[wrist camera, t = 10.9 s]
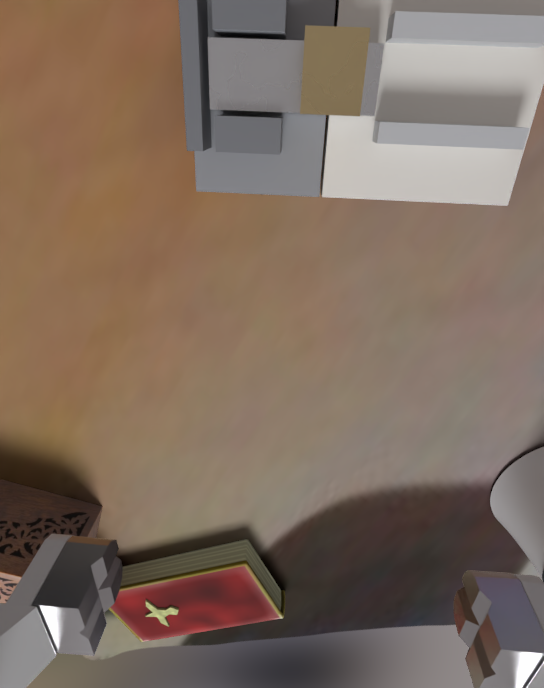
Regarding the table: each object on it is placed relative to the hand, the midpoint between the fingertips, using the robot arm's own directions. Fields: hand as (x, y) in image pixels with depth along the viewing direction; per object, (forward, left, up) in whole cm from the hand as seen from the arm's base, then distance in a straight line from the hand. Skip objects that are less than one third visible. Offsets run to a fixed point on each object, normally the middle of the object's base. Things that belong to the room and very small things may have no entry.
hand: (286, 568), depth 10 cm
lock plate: (-4, -11, -28) cm, 30 cm away
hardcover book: (+11, +46, -28) cm, 55 cm away
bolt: (+1, -11, -25) cm, 27 cm away
